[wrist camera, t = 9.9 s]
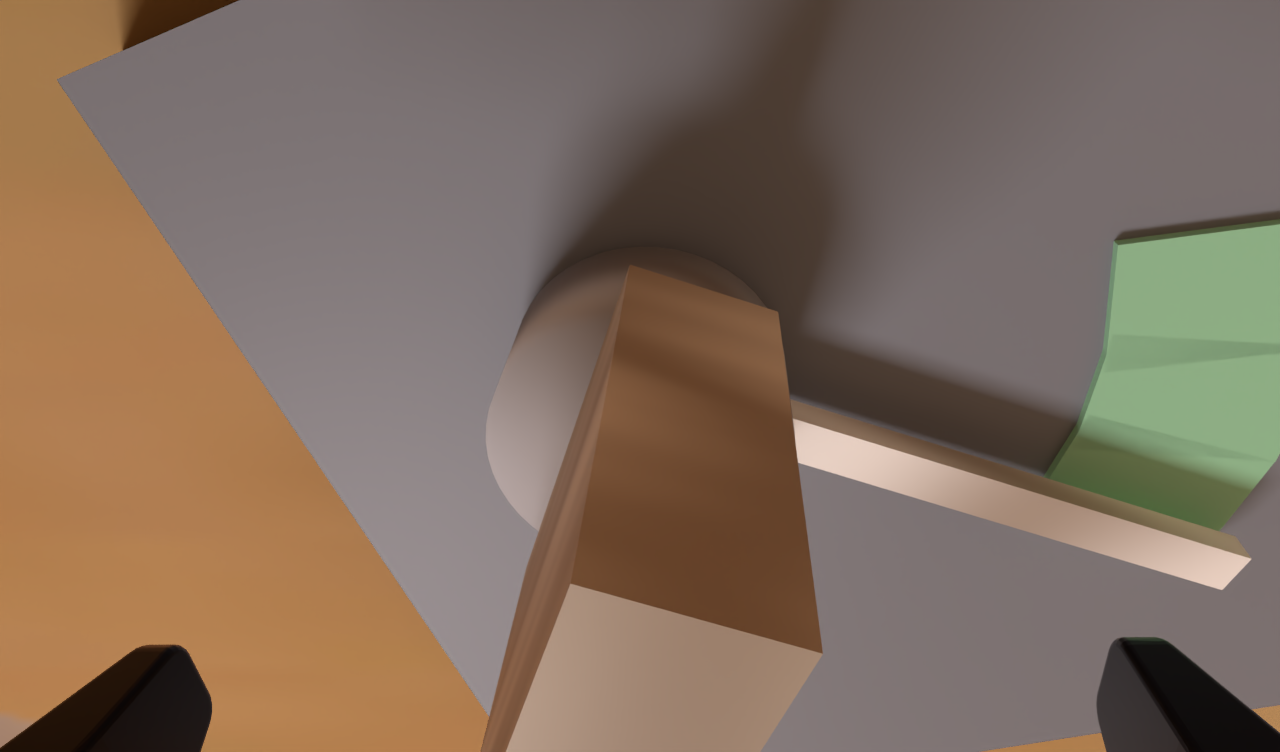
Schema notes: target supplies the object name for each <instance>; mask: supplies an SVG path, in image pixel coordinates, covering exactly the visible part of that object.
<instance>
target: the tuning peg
mask: <svg viewBox="0 0 1280 752" xmlns="http://www.w3.org/2000/svg"><path fill="white" fill-rule="evenodd" d="M486 447H487V454H488V459H489V462H490V466H491V469H492V472H493V475H494V477H495V479H496V481H497V483H498V485H499V488H500V489H501V491H502V492H503V494H504V495H505V497H506V498H507V500H508V502H509V503H510V504H511V505H512V506H513V508H514V509H515V510H516V511H517V512H518V513H519V515H520V516H521V517H522V518H524V519H525V520H526V521H527V522H528V523H529V524H530V525H531V526H532V527H533V528H535V529H536V530H538V531H539V532H538V535H537V538H536V541H535V544H534V547H533V549H532V552H531V555H530V558H529V561H528V564H527V567H526V571H525V575H524V579H523V583H522V587H521V591H520V595H519V599H518V603H517V607H516V611H515V615H514V619H513V623H512V627H511V631H510V635H509V639H508V643H507V647H506V652H505V656H504V660H503V664H502V668H501V672H500V676H499V680H498V684H497V688H496V692H495V696H494V700H493V704H492V708H491V712H490V716H489V720H488V724H487V728H486V732H485V736H484V740H483V744H482V748H481V752H760V751H761V750H762V748H763V747H764V745H765V744H766V742H767V741H768V739H769V737H770V736H771V734H772V733H773V731H774V730H775V728H776V726H777V725H778V723H779V722H780V720H781V719H782V717H783V716H784V714H785V712H786V711H787V709H788V708H789V706H790V705H791V703H792V702H793V700H794V698H795V697H796V695H797V694H798V692H799V691H800V689H801V687H802V686H803V684H804V683H805V681H806V680H807V678H808V677H809V675H810V673H811V672H812V670H813V669H814V667H815V666H816V664H817V662H818V661H819V659H820V658H821V656H822V655H823V650H822V642H821V634H820V627H819V619H818V612H817V604H816V596H815V589H814V581H813V573H812V566H811V558H810V551H809V543H808V535H807V528H806V520H805V512H804V505H803V497H802V490H801V482H800V474H799V467H798V463H801V464H804V465H807V466H811V467H814V468H817V469H821V470H824V471H827V472H831V473H834V474H837V475H841V476H844V477H847V478H851V479H854V480H857V481H861V482H864V483H867V484H871V485H874V486H877V487H880V488H884V489H887V490H890V491H894V492H897V493H900V494H904V495H907V496H910V497H914V498H917V499H920V500H924V501H927V502H930V503H934V504H937V505H940V506H944V507H947V508H950V509H954V510H957V511H960V512H964V513H967V514H970V515H974V516H977V517H980V518H984V519H987V520H990V521H994V522H997V523H1000V524H1004V525H1007V526H1010V527H1014V528H1017V529H1020V530H1024V531H1027V532H1030V533H1033V534H1037V535H1040V536H1043V537H1047V538H1050V539H1053V540H1057V541H1060V542H1063V543H1067V544H1070V545H1073V546H1077V547H1080V548H1083V549H1087V550H1090V551H1093V552H1097V553H1100V554H1103V555H1107V556H1110V557H1113V558H1117V559H1120V560H1123V561H1127V562H1130V563H1133V564H1137V565H1140V566H1143V567H1147V568H1150V569H1153V570H1157V571H1160V572H1163V573H1167V574H1170V575H1173V576H1177V577H1180V578H1183V579H1187V580H1190V581H1193V582H1196V583H1200V584H1203V585H1206V586H1210V587H1213V588H1216V589H1220V590H1223V589H1224V588H1225V587H1226V586H1227V584H1228V583H1229V582H1230V581H1231V580H1232V579H1233V578H1234V577H1235V576H1236V575H1237V574H1238V573H1239V572H1240V571H1241V570H1242V569H1243V568H1244V567H1245V566H1246V564H1247V563H1248V562H1249V561H1250V560H1251V557H1250V556H1249V554H1248V553H1247V552H1246V550H1245V549H1244V548H1243V546H1242V545H1241V543H1240V542H1239V541H1238V539H1237V538H1236V537H1235V536H1232V535H1229V534H1226V533H1223V532H1220V531H1216V530H1213V529H1210V528H1207V527H1203V526H1200V525H1197V524H1194V523H1190V522H1187V521H1184V520H1181V519H1177V518H1174V517H1171V516H1168V515H1164V514H1161V513H1158V512H1155V511H1151V510H1148V509H1145V508H1142V507H1138V506H1135V505H1132V504H1129V503H1125V502H1122V501H1119V500H1116V499H1112V498H1109V497H1106V496H1103V495H1099V494H1096V493H1093V492H1090V491H1086V490H1083V489H1080V488H1077V487H1073V486H1070V485H1067V484H1064V483H1061V482H1057V481H1054V480H1051V479H1048V478H1044V477H1041V476H1038V475H1035V474H1031V473H1028V472H1025V471H1022V470H1018V469H1015V468H1012V467H1009V466H1005V465H1002V464H999V463H996V462H992V461H989V460H986V459H983V458H979V457H976V456H973V455H970V454H966V453H963V452H960V451H957V450H953V449H950V448H947V447H944V446H940V445H937V444H934V443H931V442H927V441H924V440H921V439H918V438H915V437H911V436H908V435H905V434H902V433H898V432H895V431H892V430H889V429H885V428H882V427H879V426H876V425H872V424H869V423H866V422H863V421H859V420H856V419H853V418H850V417H846V416H843V415H840V414H837V413H833V412H830V411H827V410H824V409H820V408H817V407H814V406H811V405H807V404H804V403H801V402H798V401H794V400H791V399H790V393H789V385H788V378H787V370H786V362H785V355H784V349H783V345H782V337H781V329H780V322H779V314H778V312H777V311H774V310H771V309H768V308H767V307H766V306H765V305H764V303H763V302H762V301H761V300H760V298H759V297H758V296H757V295H756V293H755V292H754V291H753V290H752V289H751V288H749V287H748V286H747V285H746V284H745V283H744V282H743V281H742V280H741V279H739V278H738V277H737V276H735V275H734V274H732V273H731V272H730V271H728V270H727V269H725V268H723V267H721V266H719V265H717V264H716V263H714V262H712V261H710V260H707V259H705V258H702V257H699V256H697V255H694V254H691V253H687V252H683V251H679V250H675V249H668V248H660V247H630V248H621V249H615V250H611V251H607V252H603V253H599V254H596V255H594V256H591V257H589V258H586V259H583V260H581V261H579V262H578V263H576V264H574V265H572V266H570V267H568V268H567V269H565V270H564V271H563V272H561V273H560V274H558V275H557V276H556V277H554V278H553V279H552V280H551V281H550V282H549V283H548V284H547V285H546V286H545V287H544V288H543V289H542V290H541V291H540V292H539V293H538V295H537V296H536V297H535V299H534V300H533V301H532V303H531V304H530V306H529V308H528V310H527V311H526V313H525V315H524V317H523V319H522V322H521V325H520V327H519V330H518V333H517V335H516V338H515V341H514V343H513V346H512V349H511V351H510V354H509V356H508V359H507V362H506V364H505V367H504V370H503V372H502V375H501V378H500V380H499V383H498V385H497V388H496V391H495V393H494V396H493V399H492V402H491V404H490V407H489V411H488V417H487V422H486Z"/></svg>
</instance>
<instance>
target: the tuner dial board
mask: <svg viewBox="0 0 1280 752" xmlns="http://www.w3.org/2000/svg"><path fill="white" fill-rule="evenodd" d="M57 81H58V82H59V84H60V85H61V87H62V88H63V90H64V91H65V93H66V94H67V96H68V97H69V98H70V100H71V101H72V103H73V104H74V106H75V107H76V109H77V110H78V112H79V113H80V115H81V116H82V118H83V119H84V121H85V122H86V123H87V125H88V126H89V128H90V129H91V131H92V132H93V134H94V135H95V137H96V138H97V140H98V141H99V143H100V144H101V146H102V147H103V149H104V150H105V151H106V153H107V154H108V156H109V157H110V159H111V160H112V162H113V163H114V165H115V166H116V168H117V169H118V171H119V172H120V174H121V175H122V177H123V178H124V179H125V181H126V182H127V184H128V185H129V187H130V188H131V190H132V191H133V193H134V194H135V196H136V197H137V199H138V200H139V202H140V203H141V205H142V206H143V207H144V209H145V210H146V212H147V213H148V215H149V216H150V218H151V219H152V221H153V222H154V224H155V225H156V227H157V228H158V230H159V231H160V233H161V234H162V235H163V237H164V238H165V240H166V241H167V243H168V244H169V246H170V247H171V249H172V250H173V252H174V253H175V255H176V256H177V258H178V259H179V261H180V262H181V263H182V265H183V266H184V268H185V269H186V271H187V272H188V274H189V275H190V277H191V278H192V280H193V281H194V283H195V284H196V286H197V287H198V289H199V290H200V291H201V293H202V294H203V296H204V297H205V299H206V300H207V302H208V303H209V305H210V306H211V308H212V309H213V311H214V312H215V314H216V315H217V317H218V318H219V319H220V321H221V322H222V324H223V325H224V327H225V328H226V330H227V331H228V333H229V334H230V336H231V337H232V339H233V340H234V342H235V343H236V345H237V346H238V347H239V349H240V350H241V352H242V353H243V355H244V356H245V358H246V359H247V361H248V362H249V364H250V365H251V367H252V368H253V370H254V371H255V372H256V374H257V375H258V377H259V378H260V380H261V381H262V383H263V384H264V386H265V387H266V389H267V390H268V392H269V393H270V395H271V396H272V398H273V399H274V400H275V402H276V403H277V405H278V406H279V408H280V409H281V411H282V412H283V414H284V415H285V417H286V418H287V420H288V421H289V423H290V424H291V426H292V427H293V428H294V430H295V431H296V433H297V434H298V436H299V437H300V439H301V440H302V442H303V443H304V445H305V446H306V448H307V449H308V451H309V452H310V454H311V455H312V456H313V458H314V459H315V461H316V462H317V464H318V465H319V467H320V468H321V470H322V471H323V473H324V474H325V476H326V477H327V479H328V480H329V482H330V483H331V484H332V486H333V487H334V489H335V490H336V492H337V493H338V495H339V496H340V498H341V499H342V501H343V502H344V504H345V505H346V507H347V508H348V510H349V511H350V512H351V514H352V515H353V517H354V518H355V520H356V521H357V523H358V524H359V526H360V527H361V529H362V530H363V532H364V533H365V535H366V536H367V538H368V539H369V540H370V542H371V543H372V545H373V546H374V548H375V549H376V551H377V552H378V554H379V555H380V557H381V558H382V560H383V561H384V563H385V564H386V566H387V567H388V568H389V570H390V571H391V573H392V574H393V576H394V577H395V579H396V580H397V582H398V583H399V585H400V586H401V588H402V589H403V591H404V592H405V593H406V595H407V596H408V598H409V599H410V601H411V602H412V604H413V605H414V607H415V608H416V610H417V611H418V613H419V614H420V616H421V617H422V619H423V620H424V621H425V623H426V624H427V626H428V627H429V629H430V630H431V632H432V633H433V635H434V636H435V638H436V639H437V641H438V642H439V644H440V645H441V647H442V648H443V649H444V651H445V652H446V654H447V655H448V657H449V658H450V660H451V661H452V663H453V664H454V666H455V667H456V669H457V670H458V672H459V673H460V675H461V676H462V677H463V679H464V680H465V682H466V683H467V685H468V686H469V688H470V689H471V691H472V692H473V694H474V695H475V697H476V698H477V700H478V701H479V703H480V704H481V705H482V707H483V708H484V710H485V711H486V713H487V714H488V716H490V712H491V708H492V704H493V700H494V696H495V692H496V688H497V684H498V680H499V676H500V672H501V668H502V664H503V660H504V656H505V652H506V647H507V643H508V639H509V635H510V631H511V627H512V623H513V619H514V615H515V611H516V607H517V603H518V599H519V595H520V591H521V587H522V583H523V579H524V575H525V571H526V567H527V564H528V561H529V558H530V555H531V552H532V549H533V547H534V544H535V541H536V538H537V535H538V532H539V531H538V530H536V529H535V528H533V527H532V526H531V525H530V524H529V523H528V522H527V521H526V520H525V519H524V518H522V517H521V516H520V515H519V513H518V512H517V511H516V510H515V509H514V508H513V506H512V505H511V504H510V503H509V502H508V500H507V498H506V497H505V495H504V494H503V492H502V491H501V489H500V488H499V485H498V483H497V481H496V479H495V477H494V475H493V472H492V469H491V466H490V462H489V459H488V454H487V447H486V422H487V417H488V411H489V407H490V404H491V402H492V399H493V396H494V393H495V391H496V388H497V385H498V383H499V380H500V378H501V375H502V372H503V370H504V367H505V364H506V362H507V359H508V356H509V354H510V351H511V349H512V346H513V343H514V341H515V338H516V335H517V333H518V330H519V327H520V325H521V322H522V319H523V317H524V315H525V313H526V311H527V310H528V308H529V306H530V304H531V303H532V301H533V300H534V299H535V297H536V296H537V295H538V293H539V292H540V291H541V290H542V289H543V288H544V287H545V286H546V285H547V284H548V283H549V282H550V281H551V280H552V279H553V278H554V277H556V276H557V275H558V274H560V273H561V272H563V271H564V270H565V269H567V268H568V267H570V266H572V265H574V264H576V263H578V262H579V261H581V260H583V259H586V258H589V257H591V256H594V255H596V254H599V253H603V252H607V251H611V250H615V249H621V248H630V247H660V248H668V249H675V250H679V251H683V252H687V253H691V254H694V255H697V256H699V257H702V258H705V259H707V260H710V261H712V262H714V263H716V264H717V265H719V266H721V267H723V268H725V269H727V270H728V271H730V272H731V273H732V274H734V275H735V276H737V277H738V278H739V279H741V280H742V281H743V282H744V283H745V284H746V285H747V286H748V287H749V288H751V289H752V290H753V291H754V292H755V293H756V295H757V296H758V297H759V298H760V300H761V301H762V302H763V303H764V305H765V306H766V307H767V308H768V309H771V310H774V311H777V312H778V314H779V322H780V329H781V337H782V345H783V349H784V355H785V362H786V370H787V378H788V385H789V393H790V399H791V400H794V401H798V402H801V403H804V404H807V405H811V406H814V407H817V408H820V409H824V410H827V411H830V412H833V413H837V414H840V415H843V416H846V417H850V418H853V419H856V420H859V421H863V422H866V423H869V424H872V425H876V426H879V427H882V428H885V429H889V430H892V431H895V432H898V433H902V434H905V435H908V436H911V437H915V438H918V439H921V440H924V441H927V442H931V443H934V444H937V445H940V446H944V447H947V448H950V449H953V450H957V451H960V452H963V453H966V454H970V455H973V456H976V457H979V458H983V459H986V460H989V461H992V462H996V463H999V464H1002V465H1005V466H1009V467H1012V468H1015V469H1018V470H1022V471H1025V472H1028V473H1031V474H1035V475H1038V476H1041V477H1044V478H1048V479H1051V480H1054V481H1057V482H1061V483H1064V484H1067V485H1070V486H1073V487H1077V488H1080V489H1083V490H1086V491H1090V492H1093V493H1096V494H1099V495H1103V496H1106V497H1109V498H1112V499H1116V500H1119V501H1122V502H1125V503H1129V504H1132V505H1135V506H1138V507H1142V508H1145V509H1148V510H1151V511H1155V512H1158V513H1161V514H1164V515H1168V516H1171V517H1174V518H1177V519H1181V520H1184V521H1187V522H1190V523H1194V524H1197V525H1200V526H1203V527H1207V528H1210V529H1213V530H1216V531H1220V532H1223V533H1226V534H1229V535H1232V536H1235V537H1236V538H1237V539H1238V541H1239V542H1240V543H1241V545H1242V546H1243V548H1244V549H1245V550H1246V552H1247V553H1248V554H1249V556H1250V557H1251V560H1250V561H1249V562H1248V563H1247V564H1246V566H1245V567H1244V568H1243V569H1242V570H1241V571H1240V572H1239V573H1238V574H1237V575H1236V576H1235V577H1234V578H1233V579H1232V580H1231V581H1230V582H1229V583H1228V584H1227V586H1226V587H1225V588H1224V589H1223V590H1220V589H1216V588H1213V587H1210V586H1206V585H1203V584H1200V583H1196V582H1193V581H1190V580H1187V579H1183V578H1180V577H1177V576H1173V575H1170V574H1167V573H1163V572H1160V571H1157V570H1153V569H1150V568H1147V567H1143V566H1140V565H1137V564H1133V563H1130V562H1127V561H1123V560H1120V559H1117V558H1113V557H1110V556H1107V555H1103V554H1100V553H1097V552H1093V551H1090V550H1087V549H1083V548H1080V547H1077V546H1073V545H1070V544H1067V543H1063V542H1060V541H1057V540H1053V539H1050V538H1047V537H1043V536H1040V535H1037V534H1033V533H1030V532H1027V531H1024V530H1020V529H1017V528H1014V527H1010V526H1007V525H1004V524H1000V523H997V522H994V521H990V520H987V519H984V518H980V517H977V516H974V515H970V514H967V513H964V512H960V511H957V510H954V509H950V508H947V507H944V506H940V505H937V504H934V503H930V502H927V501H924V500H920V499H917V498H914V497H910V496H907V495H904V494H900V493H897V492H894V491H890V490H887V489H884V488H880V487H877V486H874V485H871V484H867V483H864V482H861V481H857V480H854V479H851V478H847V477H844V476H841V475H837V474H834V473H831V472H827V471H824V470H821V469H817V468H814V467H811V466H807V465H804V464H801V463H798V467H799V474H800V482H801V490H802V497H803V505H804V512H805V520H806V528H807V535H808V543H809V551H810V558H811V566H812V573H813V581H814V589H815V596H816V604H817V612H818V619H819V627H820V634H821V642H822V650H823V655H822V656H821V658H820V659H819V661H818V662H817V664H816V666H815V667H814V669H813V670H812V672H811V673H810V675H809V677H808V678H807V680H806V681H805V683H804V684H803V686H802V687H801V689H800V691H799V692H798V694H797V695H796V697H795V698H794V700H793V702H792V703H791V705H790V706H789V708H788V709H787V711H786V712H785V714H784V716H783V717H782V719H781V720H780V722H779V723H778V725H777V726H776V728H775V730H774V731H773V733H772V734H771V736H770V737H769V739H768V741H767V742H766V744H765V745H764V747H763V748H762V750H761V751H760V752H980V751H987V750H993V749H1000V748H1006V747H1013V746H1019V745H1025V744H1032V743H1038V742H1045V741H1051V740H1058V739H1064V738H1070V737H1077V736H1083V735H1090V734H1096V733H1101V729H1100V726H1099V722H1098V716H1097V707H1096V701H1097V693H1098V689H1099V686H1100V682H1101V678H1102V674H1103V670H1104V667H1105V663H1106V659H1107V655H1108V651H1109V648H1110V646H1111V644H1112V642H1113V641H1114V640H1116V639H1117V638H1121V637H1158V638H1162V639H1164V640H1166V641H1168V642H1170V643H1171V644H1173V645H1174V646H1175V647H1176V648H1178V649H1179V650H1180V651H1181V652H1182V653H1184V654H1185V655H1186V656H1187V657H1188V658H1190V659H1191V660H1192V661H1193V662H1194V663H1196V664H1197V665H1198V666H1199V667H1201V668H1202V669H1203V670H1204V671H1205V672H1207V673H1208V674H1209V675H1210V676H1211V677H1213V678H1214V679H1215V680H1216V681H1217V682H1219V683H1220V684H1221V685H1222V686H1224V687H1225V688H1226V689H1227V690H1228V691H1230V692H1231V693H1232V694H1233V695H1234V696H1236V697H1237V698H1238V699H1239V700H1240V701H1242V702H1243V703H1244V704H1245V705H1247V706H1248V707H1249V708H1250V709H1257V708H1263V707H1270V706H1276V705H1280V0H239V1H236V2H234V3H232V4H229V5H227V6H225V7H222V8H220V9H218V10H216V11H213V12H211V13H209V14H206V15H204V16H202V17H199V18H197V19H195V20H192V21H190V22H188V23H186V24H183V25H181V26H179V27H176V28H174V29H172V30H169V31H167V32H165V33H162V34H160V35H158V36H156V37H153V38H151V39H149V40H146V41H144V42H142V43H139V44H137V45H135V46H133V47H130V48H128V49H126V50H123V51H121V52H119V53H116V54H114V55H112V56H109V57H107V58H105V59H103V60H100V61H98V62H96V63H93V64H91V65H89V66H86V67H84V68H82V69H79V70H77V71H75V72H73V73H70V74H68V75H66V76H63V77H61V78H59V79H57Z"/></svg>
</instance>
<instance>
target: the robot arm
mask: <svg viewBox="0 0 1280 752" xmlns="http://www.w3.org/2000/svg"><path fill="white" fill-rule="evenodd" d="M1096 707H1097V716H1098V722H1099V726H1100V729H1101V733H1102V737H1103V740H1104V744H1105V748H1106V751H1107V752H1280V733H1279V732H1278V731H1277V730H1276V729H1274V728H1273V727H1272V726H1271V725H1270V724H1268V723H1267V722H1266V721H1265V720H1263V719H1262V718H1261V717H1260V716H1259V715H1257V714H1256V713H1255V712H1254V711H1253V710H1251V709H1250V708H1249V707H1248V706H1247V705H1245V704H1244V703H1243V702H1242V701H1240V700H1239V699H1238V698H1237V697H1236V696H1234V695H1233V694H1232V693H1231V692H1230V691H1228V690H1227V689H1226V688H1225V687H1224V686H1222V685H1221V684H1220V683H1219V682H1217V681H1216V680H1215V679H1214V678H1213V677H1211V676H1210V675H1209V674H1208V673H1207V672H1205V671H1204V670H1203V669H1202V668H1201V667H1199V666H1198V665H1197V664H1196V663H1194V662H1193V661H1192V660H1191V659H1190V658H1188V657H1187V656H1186V655H1185V654H1184V653H1182V652H1181V651H1180V650H1179V649H1178V648H1176V647H1175V646H1174V645H1173V644H1171V643H1170V642H1168V641H1166V640H1164V639H1162V638H1158V637H1121V638H1117V639H1116V640H1114V641H1113V642H1112V644H1111V646H1110V648H1109V651H1108V655H1107V659H1106V663H1105V667H1104V670H1103V674H1102V678H1101V682H1100V686H1099V689H1098V693H1097V701H1096ZM211 714H212V702H211V697H210V694H209V692H208V690H207V688H206V686H205V684H204V682H203V680H202V678H201V676H200V674H199V672H198V670H197V668H196V666H195V664H194V663H193V661H192V659H191V657H190V655H189V653H188V652H187V650H186V649H184V648H183V647H181V646H179V645H145V646H141V647H139V648H136V649H135V650H133V651H132V652H130V653H129V654H127V655H126V656H125V657H123V658H122V659H121V660H119V661H118V662H116V663H115V664H114V665H112V666H111V667H110V668H108V669H107V670H106V671H104V672H103V673H101V674H100V675H99V676H97V677H96V678H95V679H93V680H92V681H91V682H89V683H88V684H87V685H85V686H84V687H82V688H81V689H80V690H78V691H77V692H76V693H74V694H73V695H72V696H70V697H69V698H67V699H66V700H65V701H63V702H62V703H61V704H59V705H58V706H57V707H55V708H54V709H53V710H51V711H50V712H48V713H47V714H46V715H44V716H43V717H42V718H40V719H39V720H38V721H36V722H35V723H34V724H32V725H31V726H29V727H28V728H27V729H25V730H24V731H23V732H21V733H20V734H19V735H17V736H16V737H15V738H13V739H12V740H10V741H9V742H8V743H6V744H5V745H4V746H2V747H1V748H0V752H201V749H202V746H203V743H204V740H205V736H206V733H207V730H208V727H209V724H210V720H211Z"/></svg>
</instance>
